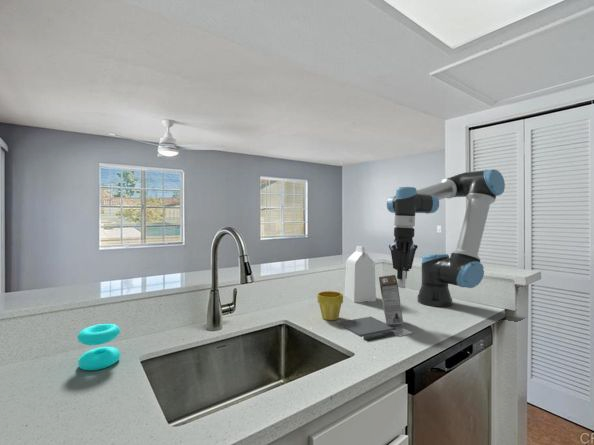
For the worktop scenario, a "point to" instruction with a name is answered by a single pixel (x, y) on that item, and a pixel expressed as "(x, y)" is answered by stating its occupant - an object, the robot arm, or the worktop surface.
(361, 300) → the milk
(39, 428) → the worktop surface
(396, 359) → the worktop surface
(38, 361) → the worktop surface
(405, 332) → the turner
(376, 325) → the mat
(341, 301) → the plant pot
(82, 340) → the donuts
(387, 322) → the coffee box
